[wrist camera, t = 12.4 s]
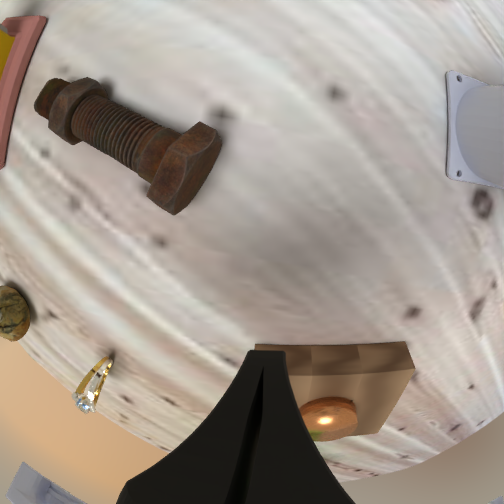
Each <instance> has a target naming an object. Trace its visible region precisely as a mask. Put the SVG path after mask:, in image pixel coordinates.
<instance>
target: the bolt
mask: <svg viewBox="0 0 504 504" xmlns="http://www.w3.org/2000/svg"><path fill="white" fill-rule="evenodd" d="M34 109H35V111H36V112H37V113H38V114H39V115H41V116H43V117H45V118H46V119H48V120H49V124H48V128H49V129H50V130H52V131H53V132H54V133H55V134H57V135H58V136H59V137H61V138H62V139H63V140H65V141H66V142H68V143H70V144H71V145H75V144H77V143H79V142H81V141H84V142H86V143H88V144H90V145H91V146H93V147H94V148H96V149H97V150H100V151H101V152H103V153H105V154H107V155H109V156H111V157H112V158H114V159H115V160H117V161H119V162H120V163H122V164H123V165H125V166H126V167H128V168H130V169H131V170H133V171H134V172H136V173H138V175H139V176H140V177H141V178H143V179H144V180H146V181H148V182H149V183H151V186H150V188H149V191H148V193H147V197H148V198H149V199H150V200H152V201H153V202H154V203H155V204H156V205H158V206H159V207H161V208H162V209H164V210H165V211H167V212H169V213H170V214H172V215H176V214H178V213H179V212H181V211H182V210H183V209H184V208H185V207H186V206H187V205H188V204H189V203H190V202H191V200H192V199H193V198H194V196H195V195H196V193H197V192H198V190H199V189H200V188H201V186H202V184H203V183H204V181H205V180H206V178H207V176H208V175H209V173H210V171H211V170H212V168H213V165H214V163H215V161H216V159H217V157H218V154H219V151H220V148H221V145H222V141H221V139H220V136H219V134H218V133H217V131H216V130H215V129H213V128H211V127H209V126H207V125H206V124H204V123H202V122H198V123H197V124H196V125H194V126H193V127H192V128H190V129H189V130H188V131H187V132H185V133H184V134H183V135H181V134H179V133H177V132H176V131H174V130H172V129H170V128H165V127H162V126H161V125H158V124H157V123H154V122H153V121H150V120H149V119H147V118H145V117H142V116H141V115H139V114H137V113H135V112H133V111H131V110H129V109H126V108H125V107H123V106H121V105H118V104H116V103H114V102H112V101H110V100H108V95H107V93H106V91H105V90H104V88H103V87H102V86H101V85H100V84H99V83H98V82H97V81H96V80H93V79H91V78H88V77H86V78H83V79H79V80H77V81H75V82H73V83H69V82H67V81H65V80H62V79H58V78H54V79H51V80H49V81H48V82H47V83H46V84H45V86H44V88H43V89H42V91H41V92H40V94H39V96H38V97H37V99H36V101H35V103H34Z"/></svg>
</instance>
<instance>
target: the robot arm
mask: <svg viewBox="0 0 504 504" xmlns="http://www.w3.org/2000/svg"><path fill="white" fill-rule="evenodd" d="M457 77H458V78H459V81H458V80H457ZM446 78H447V91H448V116H449V131H448V158H447V176H448V177H449V178H451V179H453V180H459V181H465V182H470V183H476V184H481V185H486V186H491V187H496V188H501V189H504V85H498V86H491V85H488V84H486V83H484V82H481V81H479V80H477V79H474V78H472V77H469V76H466V75H464V74H461V73H458V72H455V71H448V72H447V73H446ZM458 170H459V175H458V176H457V171H458ZM6 497H7V499H9V500H10V501H11V502H12V503H13V504H87V503H85V502H83V501H81V500H80V499H78V498H76V497H75V496H73V495H71V494H70V493H69V492H68V491H66V490H64V489H63V488H61V487H60V486H58V485H56V484H55V483H53V482H52V481H50V480H49V479H47V478H45V477H44V476H42V475H41V474H40V473H38V472H37V471H36V470H34V469H33V468H31V467H30V466H29V465H27V464H26V463H25V462H22V464H21V466H20V468H19V470H18V472H17V473H16V475H15V477H14V479H13V481H12V483H11V485H10V487H9V489H8V492H7V494H6ZM116 504H355V503H354V501H353V500H352V499H351V498H350V497H349V495H348V494H347V493H346V492H345V491H344V489H343V488H342V486H341V485H340V484H339V482H338V481H337V479H336V478H335V476H334V475H333V474H332V472H331V470H330V469H329V467H328V466H327V464H326V462H325V461H324V459H323V458H322V456H321V454H320V453H319V451H318V449H317V447H316V445H315V443H314V442H313V440H312V438H311V436H310V433H309V431H308V429H307V427H306V425H305V423H304V420H303V418H302V415H301V413H300V410H299V408H298V405H297V402H296V400H295V396H294V393H293V390H292V387H291V383H290V380H289V375H288V371H287V365H286V352H284V351H278V350H250V351H248V353H247V355H246V357H245V360H244V362H243V364H242V366H241V368H240V369H239V371H238V373H237V375H236V377H235V378H234V380H233V381H232V383H231V385H230V386H229V388H228V389H227V391H226V392H225V394H224V395H223V397H222V398H221V399H220V401H219V402H218V404H217V405H216V406H215V408H214V409H213V410H212V411H211V413H210V414H209V415H208V416H207V418H206V419H205V420H204V421H203V422H202V423H201V424H200V425H199V427H198V428H197V429H196V430H195V431H194V432H193V433H192V434H191V435H190V436H189V437H188V438H187V439H186V440H184V441H183V442H182V443H181V444H180V445H179V446H178V447H177V448H176V449H174V450H173V451H172V452H171V453H169V454H168V455H167V456H165V457H164V458H163V459H161V460H160V461H159V462H157V463H156V464H155V465H153V466H152V467H150V468H149V469H147V470H145V471H144V472H142V473H140V474H139V475H137V476H135V477H134V478H132V479H130V480H128V481H127V482H126V484H125V486H124V488H123V489H122V491H121V493H120V495H119V498H118V500H117V503H116ZM487 504H504V501H503V496H500V497H498V498H496V499H494V500H493V501H491V502H489V503H487Z"/></svg>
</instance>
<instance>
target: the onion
mask: <svg viewBox="0 0 504 504" xmlns="http://www.w3.org/2000/svg"><path fill="white" fill-rule="evenodd" d="M29 326H30V313H29V308H28V306H27V303H26V301H25V300H24V298H23V297H22V296H21V295H20V294H19V293H18V292H17V290H16V289H13V288H10V287H8V286H0V336H1V337H3V338H6V339H8V340H10V341H17V340H19V339H21V338H22V337H23V336H24V335H25V334H26V332H27V331H28V329H29Z"/></svg>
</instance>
